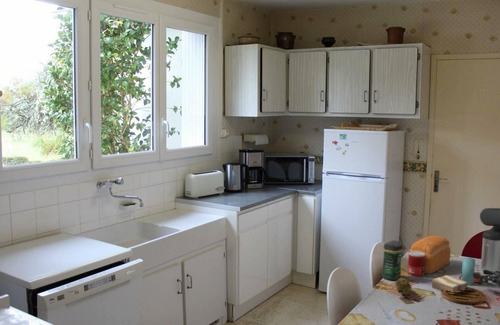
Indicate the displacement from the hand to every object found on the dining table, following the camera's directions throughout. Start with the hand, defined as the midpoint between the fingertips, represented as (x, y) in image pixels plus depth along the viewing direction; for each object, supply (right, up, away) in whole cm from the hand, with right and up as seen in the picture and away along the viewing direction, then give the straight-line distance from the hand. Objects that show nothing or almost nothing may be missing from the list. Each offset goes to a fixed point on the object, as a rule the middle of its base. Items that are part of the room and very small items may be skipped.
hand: (478, 273), depth 233 cm
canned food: (-24, -5, +18) cm, 30 cm away
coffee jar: (-38, -5, +12) cm, 40 cm away
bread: (-12, -4, +31) cm, 33 cm away
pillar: (-3, -6, +5) cm, 8 cm away
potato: (-39, -7, -10) cm, 41 cm away
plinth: (-15, -7, -3) cm, 17 cm away
